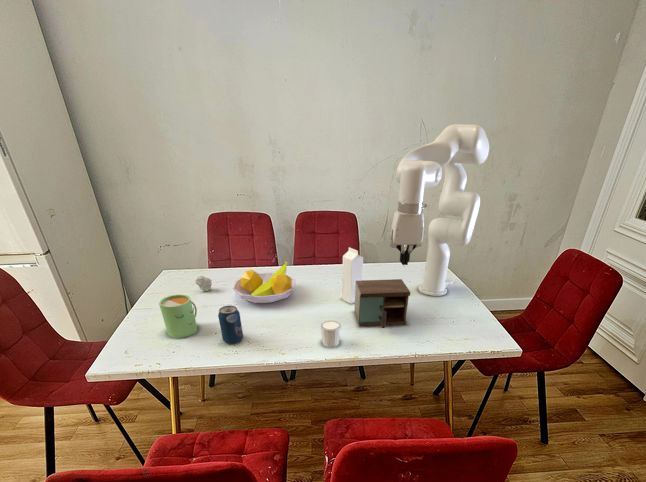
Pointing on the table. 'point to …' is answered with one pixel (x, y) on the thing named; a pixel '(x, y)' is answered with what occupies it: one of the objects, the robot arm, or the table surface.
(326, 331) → the shot glass
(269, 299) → the fruit bowl
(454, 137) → the robot arm
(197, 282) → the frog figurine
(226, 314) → the soda can
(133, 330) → the table surface
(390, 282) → the cabinet
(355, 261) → the milk
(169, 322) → the mug
